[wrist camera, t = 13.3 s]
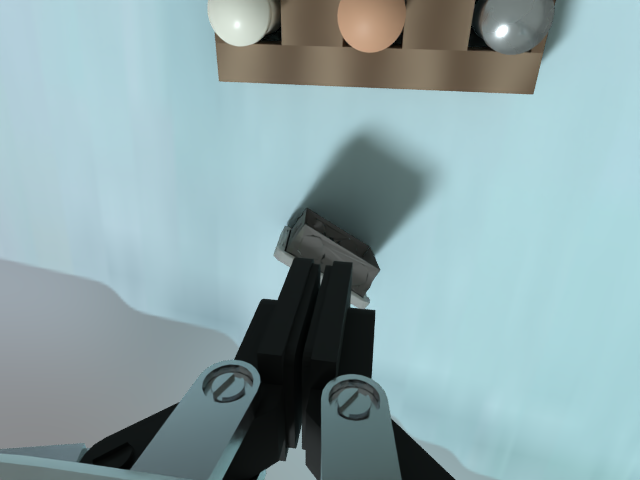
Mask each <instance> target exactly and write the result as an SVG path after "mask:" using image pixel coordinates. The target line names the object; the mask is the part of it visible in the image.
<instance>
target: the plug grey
mask: <svg viewBox="0 0 640 480" xmlns="http://www.w3.org/2000/svg"><path fill="white" fill-rule="evenodd" d="M553 18H554V2H553V0H479V1H478V2H477V4H476V5H475V7H474V11H473V17H472V27H473V29H474V31H475V33H476V34H477V35H478V36H479V37H481V38H482V39H483V40H484V41H485V43H486V44H487V45H488V46H489V47H490V48H491V49H493V50H495V51H497V52H499V53H502V54H506V55H516V54H521V53H524V52H526V51H529V50H530V49H532V48H534V47H535V46H536V45H537V44H539V43H540V42H541V41H542V39H543V38H544V37H545V36H546V34H547V33H548V31H549V29H550V27H551V25H552V22H553Z"/></svg>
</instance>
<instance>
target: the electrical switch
mask: <svg viewBox="0 0 640 480" xmlns="http://www.w3.org/2000/svg"><path fill="white" fill-rule="evenodd" d="M317 219H318V220H317ZM306 223H307V224H306ZM323 224H324V225H325V226H324V225H323ZM324 233H325V235H323V234H324ZM328 237H332V238H333V239H334V241H332V240H331V239H329V238H328ZM350 239H351V240H350ZM339 241H340V242H339ZM338 242H339V244H338ZM368 248H369V246H368V245H366V244H365V243H363V242H361V241H360V240H358V239H357V238H355V237H353V236H352V235H350V234H348V233H347V232H345V231H344V230H342V229H340V228H339V227H337V226H336V225H334V224H332V223H331V222H329V221H327V220H326V219H324V218H323V217H321V216H319V215H318V214H316V213H315V212H313V211H311V210H310V209H308V208H306V209H305V211H304V213H303V214H302V215H301V217H300V218H298V220H297V222H296V224H295V225H294V227H293V228H290V227H288V226H285V227H284V229H283V231H282V232H281V235H280V238H279V241H278V244H277V247H276V249H275V252H274V256H275V258H276V259H277V260H279V261H280V262H282V263H284V264H285V265H287V266H289V267H291V264H292V262H293V259H294V258H295V257H298V258H309V259H314V264H320V265H321V281H320V285H321V282H322V278H323V274H324V270H325V266H326V265H331V266H333V262H334V261H343V262H353V270H352V286H351V302H350V303H351V304H353V305H354V306H356V307H358V308H359V309H365V308H366V307H367V306H368V304H369V303H370V299H369V297H367V296H366V292H367V290H368V289H369V288H370V286H371V283H372V281H373V280H374V278H375V277H376V275H377V274H378V272H379V271H380V268H379V266H378V264H377V261H376V259H375V257H374V254H373V252H372V250H371V248H369V249H368ZM356 250H357V251H356ZM366 251H367V252H366ZM364 254H365V255H364Z"/></svg>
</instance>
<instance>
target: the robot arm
mask: <svg viewBox="0 0 640 480" xmlns="http://www.w3.org/2000/svg"><path fill="white" fill-rule="evenodd" d="M352 270H353V262H343V261H334V262H333V266H331V265H326V266H325V270H324V274H323V278H322V282H321V286H320V281H321V265H320V264H314V259H309V258H298V257H295V258H294V259H293V262H292V264H291V267H290V270H289V272H288V275H287V277H286V280H285V282H284V285H283V287H282V290H281V293H280V295H279V298H278V300H270V299H262V300H261V301H260V303H259V305H258V308H257V310H256V312H255V314H254V317H253V319H252V321H251V323H250V326H249V328H248V330H247V332H246V334H245V337H244V339H243V341H242V343H241V346H240V348H239V350H238V352H237V355H236V357H235V359H234V360H227V361H221V362H218V363H215V364H213V365H211V366H210V367H208V368H207V369H205V370H204V371H203V372H202V373H201V374H200V376H199V377H198V378H197V379H196V381H195V382H194V384H193V385H192V386H191V388H190V389H189V390H188V392H187V393H186V394H185V396H184V397H183V398H182V400H181V401H180V402H179V403H177V404H175V405H172V406H170V407H168V408H166V409H164V410H162V411H160V412H158V413H156V414H154V415H152V416H150V417H148V418H145V419H143V420H141V421H139V422H137V423H135V424H133V425H131V426H129V427H127V428H125V429H123V430H121V431H119V432H117V433H114V434H112V435H110V436H108V437H106V438H104V439H103V440H101V441H99V442H98V443H96V444H95V445H93V447H91V448H86V446H85V444H84V443H79V444H65V445H51V446H37V447H23V448H9V449H0V480H265V476H266V469H267V468H268V467H270V466H271V465H273V464H275V463H276V462H278V461H279V460H280V461H286V457H287V453H288V448H296V447H297V443H298V438H299V434H300V429H301V425H302V449H304V450H306V466H307V467H308V468H309V470H310V471H311V472H312V474H313V475H314V476H315V477H316V479H317V480H455V479H454V478H453V477H452V476H451V475H450V474H449V473H448V472H446V470H445V469H444V468H442V467H441V466H440V465H439V464H438V463H437V462H436V461H435V460H434V459H433V458H432V457H431V456H430V455H429V454H428V453H427V452H426V451H425V450H424V449H422V447H421V446H419V445H418V444H417V443H416V442H415V441H414V440H413V439H412V438H411V437H410V436H409V435H408V434H407V433H406V432H405V431H404V430H403V429H402V428H401V427H400V426H398V425H397V424H396V423H395V422H394V421H393V420H392V419H391V416H390V410H389V404H388V399H387V396H386V393H385V391H384V390H383V389H382V387H381V386H380V385H379V384H378V383H377V382H375V381H374V380H372V379H371V378H372V361H373V344H374V326H375V310H368V309H358V308H350V302H351V286H352Z"/></svg>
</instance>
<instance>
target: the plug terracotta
mask: <svg viewBox="0 0 640 480" xmlns="http://www.w3.org/2000/svg"><path fill="white" fill-rule="evenodd" d="M337 17H338V26H339V29H340V32H341V34H342V36H343V38H344V39H345V40H346V42H347V43H348V44H349V45H350V46H352V47H353V48H355V49H356V50H359V51H362V52H368V53H373V52H378V51H381V50H384V49H386V48H387V47H389V46H390V45H391V44H392V43H394V42H395V40H396V39H397V38H398V37H399V35H400V33H401V31H402V29H403V27H404V23H405V18H406V6H405V1H404V0H340V3H339V7H338V14H337Z"/></svg>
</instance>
